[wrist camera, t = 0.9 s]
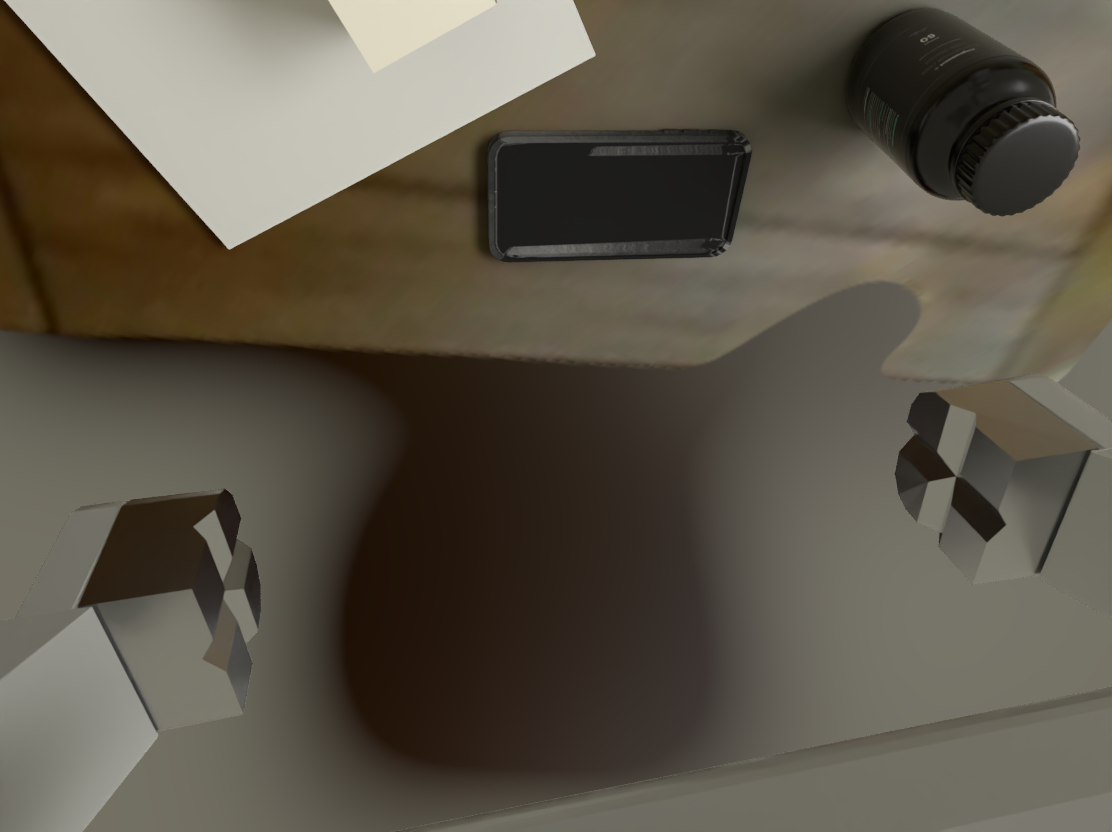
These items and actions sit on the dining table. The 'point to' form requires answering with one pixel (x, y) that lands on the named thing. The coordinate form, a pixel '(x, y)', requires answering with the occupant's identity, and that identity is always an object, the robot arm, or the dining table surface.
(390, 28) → the walnut cube
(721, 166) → the phone
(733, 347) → the dining table surface
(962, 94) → the supplement bottle
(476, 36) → the white mat
